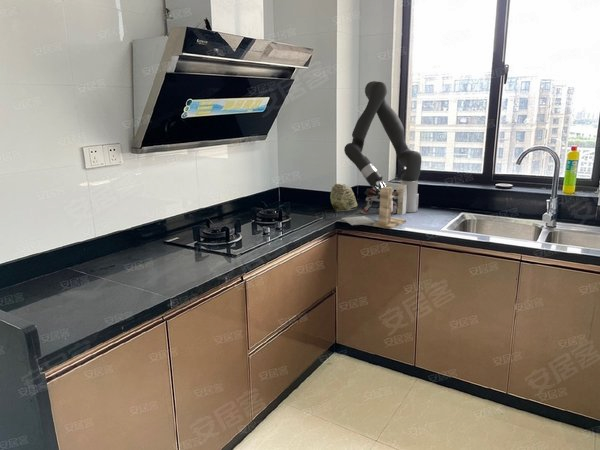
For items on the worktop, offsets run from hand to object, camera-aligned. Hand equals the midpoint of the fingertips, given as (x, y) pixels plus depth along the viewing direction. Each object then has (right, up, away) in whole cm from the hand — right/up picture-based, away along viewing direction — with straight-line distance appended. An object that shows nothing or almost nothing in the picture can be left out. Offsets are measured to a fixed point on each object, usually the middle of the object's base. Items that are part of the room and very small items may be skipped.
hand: (391, 201), depth 222 cm
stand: (-1, -11, -2) cm, 12 cm away
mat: (-16, -10, +4) cm, 19 cm away
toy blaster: (-2, -6, +20) cm, 21 cm away
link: (+2, -6, 0) cm, 6 cm away
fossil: (-21, -3, +30) cm, 37 cm away
